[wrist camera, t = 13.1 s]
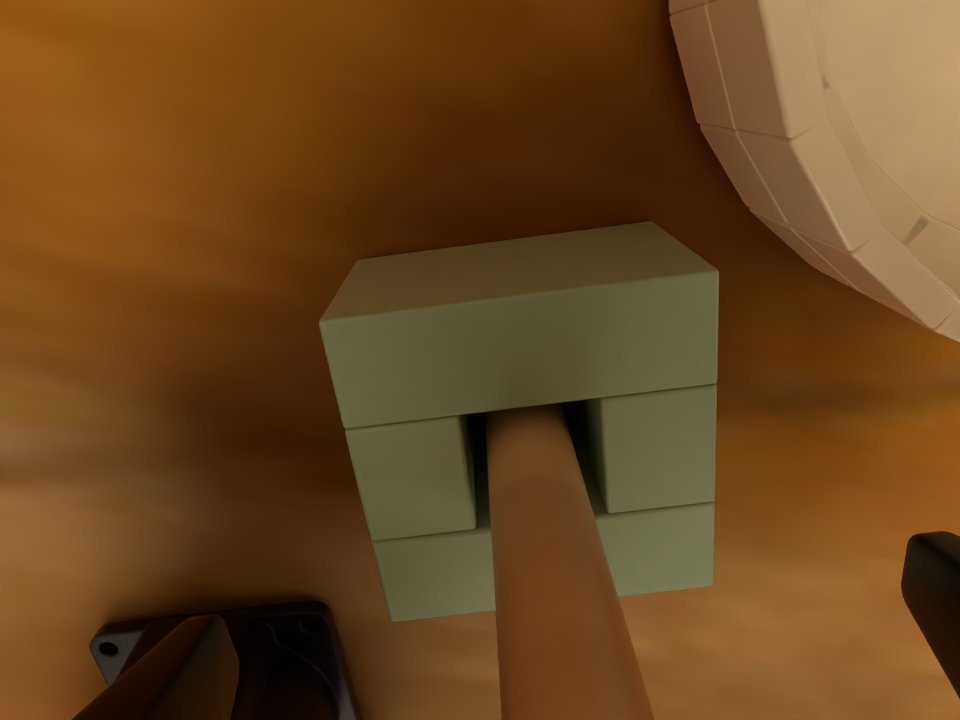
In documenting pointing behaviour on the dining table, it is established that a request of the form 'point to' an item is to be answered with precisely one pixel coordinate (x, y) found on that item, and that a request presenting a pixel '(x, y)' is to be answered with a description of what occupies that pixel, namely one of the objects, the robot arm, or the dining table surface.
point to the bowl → (840, 135)
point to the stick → (553, 580)
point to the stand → (530, 401)
